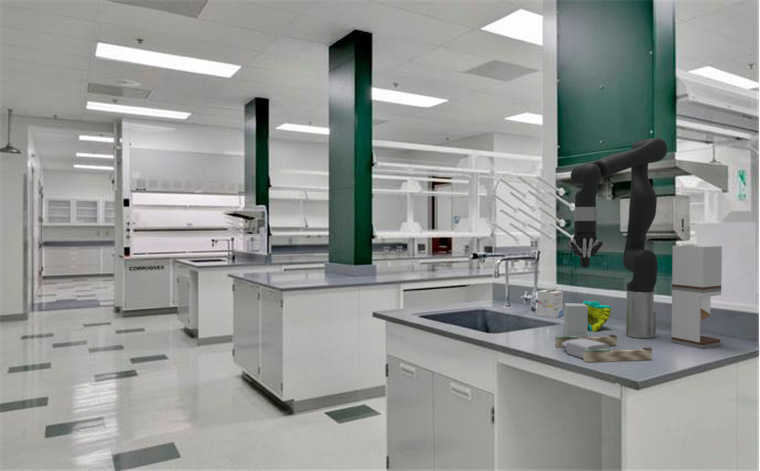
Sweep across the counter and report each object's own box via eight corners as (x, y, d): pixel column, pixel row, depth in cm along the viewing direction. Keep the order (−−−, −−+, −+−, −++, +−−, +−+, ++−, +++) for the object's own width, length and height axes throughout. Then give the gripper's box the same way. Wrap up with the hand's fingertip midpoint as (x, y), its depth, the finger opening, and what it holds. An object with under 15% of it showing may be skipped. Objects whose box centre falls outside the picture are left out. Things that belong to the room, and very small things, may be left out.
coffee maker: (702, 348, 172) (703, 246, 171) (671, 342, 181) (672, 245, 180) (720, 345, 177) (721, 246, 177) (689, 339, 187) (691, 245, 186)
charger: (573, 348, 174) (609, 358, 160) (553, 350, 170) (587, 361, 156) (573, 334, 174) (609, 343, 160) (553, 336, 170) (587, 346, 156)
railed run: (614, 344, 177) (614, 334, 177) (651, 359, 158) (651, 348, 157) (555, 346, 175) (555, 336, 174) (585, 362, 155) (586, 350, 155)
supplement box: (587, 340, 184) (588, 306, 184) (566, 339, 185) (566, 305, 185) (583, 336, 191) (584, 303, 191) (563, 335, 193) (563, 302, 192)
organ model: (603, 316, 195) (573, 298, 202) (592, 340, 200) (563, 321, 208) (619, 305, 204) (590, 288, 212) (608, 328, 210) (580, 310, 218)
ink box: (546, 313, 240) (546, 285, 240) (563, 315, 234) (563, 287, 234) (537, 315, 235) (537, 287, 234) (553, 318, 228) (554, 288, 228)
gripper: (596, 219, 186) (596, 266, 186) (562, 219, 184) (562, 267, 185) (608, 219, 178) (607, 268, 179) (573, 219, 177) (572, 268, 177)
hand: (584, 267), depth 182 cm, fingers closed
